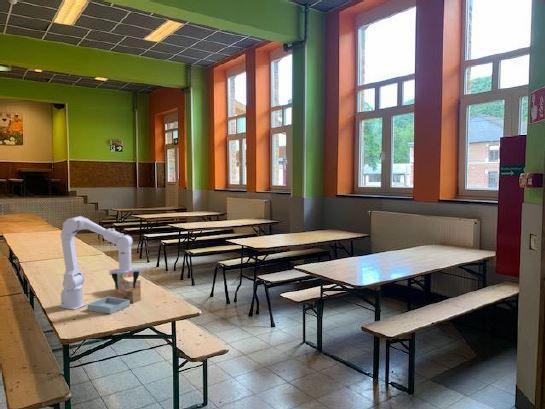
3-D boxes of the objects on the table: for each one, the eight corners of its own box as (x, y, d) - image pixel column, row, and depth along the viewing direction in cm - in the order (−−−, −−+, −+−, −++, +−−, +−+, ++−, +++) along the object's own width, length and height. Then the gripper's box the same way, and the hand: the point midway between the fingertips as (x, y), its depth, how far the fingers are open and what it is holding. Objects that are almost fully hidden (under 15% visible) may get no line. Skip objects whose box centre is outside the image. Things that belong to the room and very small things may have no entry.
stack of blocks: (140, 296, 221) (140, 274, 220) (129, 299, 217) (128, 276, 216) (125, 287, 237) (125, 266, 236) (114, 289, 233) (114, 268, 232)
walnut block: (123, 302, 212) (123, 290, 211) (131, 299, 217) (131, 287, 217) (133, 303, 210) (132, 292, 209) (140, 300, 215) (140, 289, 215)
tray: (87, 310, 199) (87, 304, 199) (107, 302, 211) (107, 296, 211) (110, 314, 194) (110, 308, 194) (129, 306, 206) (129, 300, 206)
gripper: (109, 263, 195) (109, 292, 196) (141, 261, 200) (141, 289, 201) (108, 260, 201) (109, 287, 203) (140, 258, 207) (140, 285, 208)
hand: (125, 288), depth 202 cm, fingers open, 7 cm apart
